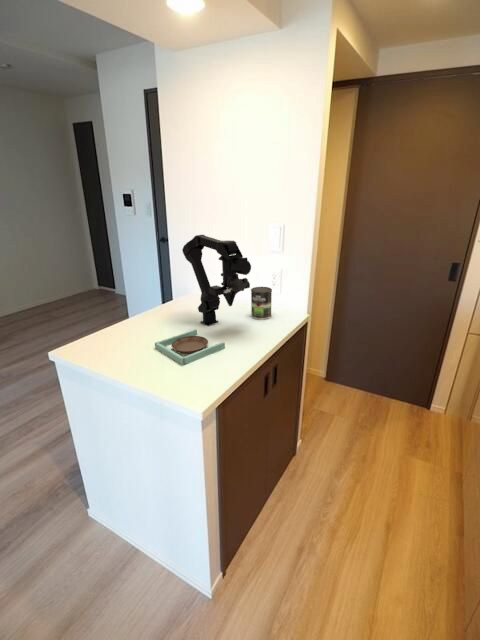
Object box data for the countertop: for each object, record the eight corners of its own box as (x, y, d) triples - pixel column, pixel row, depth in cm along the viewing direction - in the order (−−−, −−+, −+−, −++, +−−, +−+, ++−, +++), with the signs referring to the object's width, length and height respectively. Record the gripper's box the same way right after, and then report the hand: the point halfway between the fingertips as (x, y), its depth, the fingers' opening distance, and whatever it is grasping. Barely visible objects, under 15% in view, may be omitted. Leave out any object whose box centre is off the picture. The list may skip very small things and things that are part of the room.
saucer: (165, 354, 130) (164, 348, 129) (182, 339, 143) (182, 333, 142) (199, 359, 126) (198, 352, 125) (214, 343, 139) (213, 337, 138)
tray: (155, 348, 135) (154, 342, 134) (195, 334, 148) (195, 329, 147) (182, 365, 121) (182, 359, 120) (225, 348, 134) (224, 342, 133)
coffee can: (268, 320, 161) (268, 292, 156) (248, 318, 165) (247, 291, 160) (274, 313, 170) (274, 287, 165) (255, 311, 173) (255, 285, 168)
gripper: (222, 278, 129) (224, 315, 135) (258, 270, 140) (258, 305, 146) (206, 273, 137) (209, 309, 143) (241, 266, 148) (242, 300, 154)
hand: (230, 306), depth 146 cm, fingers closed
